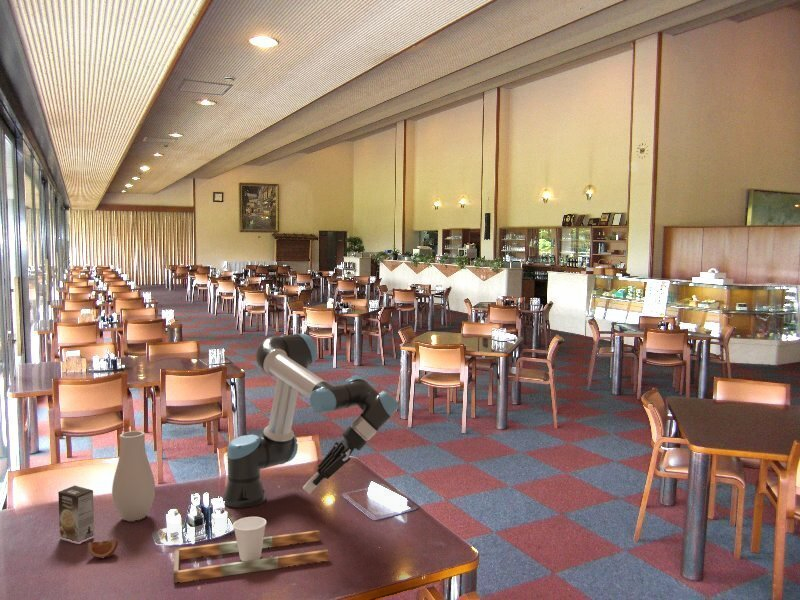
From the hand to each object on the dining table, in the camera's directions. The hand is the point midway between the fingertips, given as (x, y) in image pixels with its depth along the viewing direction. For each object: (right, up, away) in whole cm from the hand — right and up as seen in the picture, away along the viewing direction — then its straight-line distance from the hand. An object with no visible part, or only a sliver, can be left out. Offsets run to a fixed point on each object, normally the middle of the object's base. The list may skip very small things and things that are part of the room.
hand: (305, 490), depth 199 cm
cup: (-16, -20, -3) cm, 26 cm away
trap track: (-16, -20, -4) cm, 26 cm away
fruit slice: (-62, -20, -1) cm, 65 cm away
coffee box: (-75, -19, +10) cm, 78 cm away
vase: (-63, -18, +26) cm, 71 cm away
